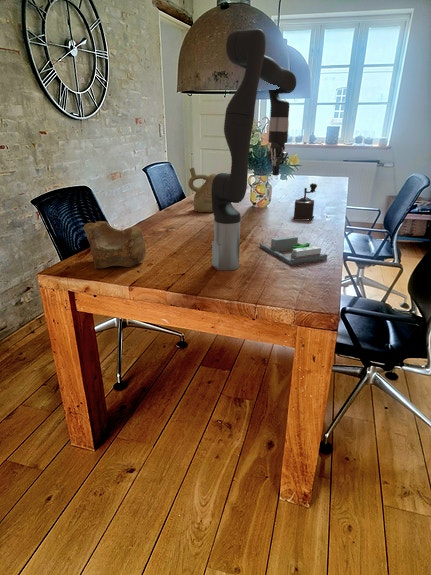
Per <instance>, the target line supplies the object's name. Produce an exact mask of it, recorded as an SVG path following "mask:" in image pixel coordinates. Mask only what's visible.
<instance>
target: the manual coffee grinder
mask: <svg viewBox="0 0 431 575" xmlns="http://www.w3.org/2000/svg"><path fill="white" fill-rule="evenodd" d="M317 187H318V185H317V183H310V184H309V188H310V191H308V190H307V187H304V191H303V192H304V195H303V197H302V198H299V199H295V202H294V212H293V220H295V219H309V220H308V221H311V220H312V219H313V220H314V218H315V216H314V209H315V208H314V206H315V200H314V199H312V198H310V197H307V194H313V193H315V192H316V189H317ZM313 220H312V221H313Z"/></svg>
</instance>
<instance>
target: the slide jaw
mask: <svg viewBox="0 0 431 575" xmlns="http://www.w3.org/2000/svg"><path fill="white" fill-rule="evenodd" d="M270 241H271V242H270V243H271V244H270V248H272V249H274V250H276V251H277V252H283V251H292V246H297V243H299V242H298V241H299V237H298V236H296V235H289V236H282V237H281V236H279V237H273V238H271V240H270Z"/></svg>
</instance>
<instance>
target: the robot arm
mask: <svg viewBox="0 0 431 575" xmlns="http://www.w3.org/2000/svg"><path fill="white" fill-rule="evenodd" d="M266 46H267V44H266V36H265V32H264V31H263V29H260V28H247V29H238V30H234V31H232V32H230V34H228V36H227V39H226V45H225V48H226V55H227V57H228V59H229V61H230V62H231V63H232V64H233V65H236V66H238V67H241V68H243V69H245V70H244V75H243V78H242V80H241V83H240V85H239V87H238V88H237V89H236V91H235V93H233V95H232V97H231V99H230V101H229V102H228V104H227V107H226V110H225V115H224V123H223V124H224V125H223V134H224V138H225V140H226V141H225V142H226V145H227V146H228V149H229V153H230V156H231V157H230V158H231V167H230V173H227V172H226V173H225V172H221V173H218V174H217V173H216V174H217V175H216V176H215V177H214V179H213V182H212V188H211V195H212V211H213V212H212V214H213V218H214V221H213V222H214V223H213V224H214V227H213V228H214V231H213V232H214V233H213V236H214V237H213V238H214V240H212V241H211V258H212V259H211V264H212V265H211V266H213V268H214V269H216V270H217V271H235V270H237V269H239V267H240V248H241V247H240V244H241V243H240V242H241V218H242V217H241V213H240V211H238V209H236V208H235V207H234V206H233V204H239V203H241V202H242V201H243V200H244V199H245V196H246V194H247V188H248V174H249V173H248V172H249V159H250V158H249V156H250V147H251V141H252V140H251V138H252V134H253V133H252V132H253V128H254V127H253V126H254V117H255V112H256V111H255V109H256V101H257V95H258V90H259V89H258V88H259V83H260V79H261V80H262V81H263V80H264V81H266V82H268V83H270V84H273V85H277V86H278V87H280V88H279V89H276V90H267V91H268V95H269V101H270V118H269V127H268V139H267V140H268V143H269V144H270V146H269V147H270V149H269V150H266V155H267V157H268V158H267V159H268V161H269V164H271V166H272V170H271V171H272V172H271V173H272V174H271V175H272V176H275V177H276V176H277V177H278V176H279V173H280V166H283V165H284V163H285V161H286V159H287V157H288V156H289V153H288V152H286V151H285V149H286V146H285V144H286V143H288V140H289V138H288V136H289V127H290V126H289V125H290V124H289V115H290V102H289V101H288V100H285V99H281V98H280V95H281V94H283V95H284V94H291V93H292V92H294V91H295V89H296V86H297V77H296V75H295V73H293V72H292V71H291V70H289V69H287V68H285V67H283V66H280V64H279V63H278V62H277V61H276V60H275V59H273V58H272V57H269V56H267V55H266V54H265V53H266ZM264 81H263V82H264ZM279 94H280V95H279Z"/></svg>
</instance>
